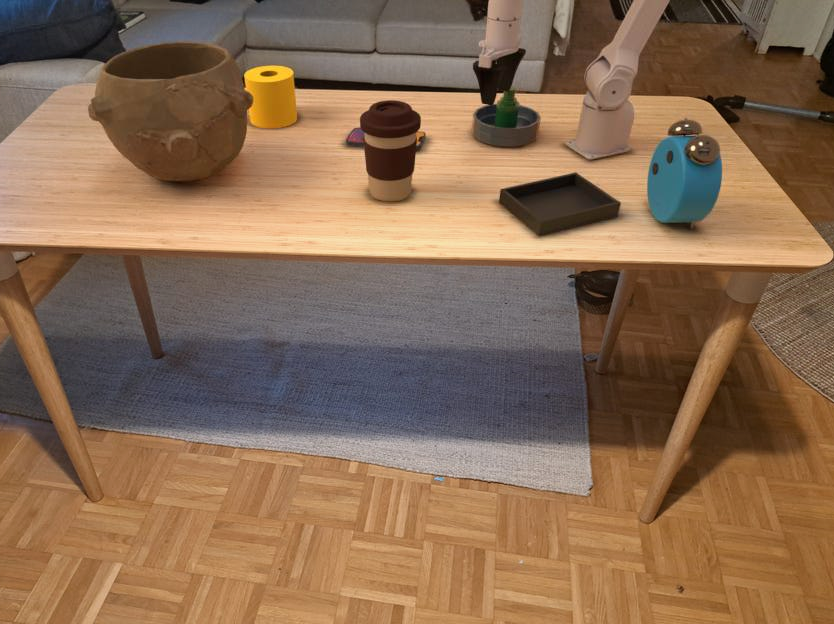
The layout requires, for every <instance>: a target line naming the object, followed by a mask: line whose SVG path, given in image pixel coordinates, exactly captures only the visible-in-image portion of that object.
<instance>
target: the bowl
mask: <svg viewBox="0 0 834 624" xmlns="http://www.w3.org/2000/svg"><path fill="white" fill-rule="evenodd" d="M243 81H244V80H243V78H242V74H241V71H240V68H239V66H238V64H237V61H236V60H235V59H234V56H233V55H232V54H231V53H230V52H229V51H228V49H227V48H226V47H222V46H220V45H216V44H213V43H210V42H209V43H208V42H202V41H192V40H190V41H189V40H187V41H186V40H179V41H177V40H176V41H165V42H158V43H153V44H146V45H142V46H138V47H135V48H132V49H128V50H126V51H123V52H121V53H119V54H117V55H115V56H113V57H112V58H111V59H109V60H107V62H105V64H103V66H102V67H101V68H100V71H99V75H98V77H97V82H96V85H95V91H94V97H92V98H90V103H89V104H88V106H87V111H88V117H89V119H91V120H92V121H95V122H99V124H100V125H101V126H102V129H103V131H104V133H105V134H106V136H107V138H108V139H109V141H110V142H111V144H112V145H113V147H114V148H115V149H116V150H117V151H118V152H119V153H120V154H121V155H122V157H123V158H125V159H126V160H128V161H129V162H130V163H131V164H132V165H133V166H135V167H136V168H137V169H138V170H140V171H142V172H143V173H145V174H147V175H149V176H152V177H153V178H157V179H159V180H162V181H171V182H188V181H195V180H197V181H198V180H202V179H203V180H204V179H206V178H208V177H210V176H213V175H214V174H216V173H219V172H221V171H223V170H224V169H225V168H227V167H228V166H229V165H231V164H232V163H233V162H234V161H235V160H236V158H237V157H238V156H239V155H240V152H241V151H242V149H243V147H244V144H245V141H246V137H247V132H248V122H249V121H248V111H249V108H250V107H252V104H253V96H252V95H251V94H250V93H249V92H247V91H246V88H245V85H244V84H245V83H244V82H243Z"/></svg>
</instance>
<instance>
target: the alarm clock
mask: <svg viewBox="0 0 834 624" xmlns="http://www.w3.org/2000/svg"><path fill="white" fill-rule="evenodd" d="M722 180H723V161H722V156H721V145H720V143H719V141H718V140H717V139H716V138H714V137H713V136H711V135H708V134H703V126H702V125H701V124H700V123H699V122H698V121H697V120H694V119H688V118H687V117H684V118H683V119H679V120H678V121H675V122H674V123H672V124H671V125H670V126H669V128H668V130H667V137H664V138H663V139H662V140H661V141H660V142H659V143H658V145H657V146H656V147H655V150H654V151H653V153H652V156H651V159H650V163H649V166H648V171H647V181H646V182H647V183H646V191H647V192H646V193H647V195H646V196H647V201H648V206H649V210H650V213H651V215H652V216H653V218H654V219H655V220H656V221H657V222H659V223H662V224H671V223H672V224H673V223H689V228H690V229H693V227H694V224H695V223H696V222H697V223H698V222H701V221H703V220H705V219H706V218H707V217H708V216H709V215H710V214H711V212H713V209H714V207H715V205H716V203H717V200H718V198H719V196H720V191H721V187H722Z"/></svg>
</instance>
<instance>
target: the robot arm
mask: <svg viewBox="0 0 834 624" xmlns="http://www.w3.org/2000/svg"><path fill="white" fill-rule="evenodd" d="M670 1H671V0H633V1H632V3H631V5H630V7H629V9H628V11H627V12H626V14H625V17H624V18H623V20H622V22H621V23H620V26H619V28H618V30H617V32H616V33H615V35H614V37H613V39H612V41H610V43H609V44H607V45H606V46H604V47H603V48H602V50H601V51H600V53H599V55H598V56H597V58H596V59H594V60H593V61H592V62H591V63H589V65H588V66H587V68H586V70H585V72H584V76H583V80H584V85H585V87H586V88H587V92H586V94H585V95H584V97H583V100H582V106H581V110H580V111H581V112H580V116H579V120H578V121H579V122H578V126H577V131H576V136H575V137H576V138H575V139H574V140H570V141H566V142H564V144H565V146H567V147H568V148H569V149H570V150H573V151H574V152H576V153H577V154H579V155H581V156H582V157H584V158H585V159H587V160H589V161H592V160H597V159H600V158H606V157H610V156H614V155H619V154H623V153H624V154H625V153H628V152H630V151H631V149H630V148H629V147H628V145H629V143H630V142H629V141H630V137H631V133H632V129H633V126H634V125H633V124H634V120H635V108H634V106H633V103H632V102H631V101H630V99H629V98H630V97H631V94H632V90H633V83H634V80H635V78H636V76H637V74H638V71H639V70H638V69H639V57H640V55H641V53H642V52H643V49H644V48H645V46H646V44H647V42H648V40H649V39H650V37H651V35H652V33H653V32H654V30H655V28H656V27H657V24H658V22H659V21H660V19H661V17H662V15H663V13H664V12H665V10H666V8H667V6H668V4H669V3H670ZM487 4H488V5H487V13H486V15H487V17H486V26H485V28H486V29H485V39H481V40H480V41H478V47H480V48H482V50H481V53H480V54H479V56H478V59H477V60H476V61H474V62H473V63H472V71H473V73H474V75H475V77H476V80H477V84H478V87H479V95H480V102H481V104H482V105H493V104H495V102H496V99H497V94H498V91H500V92H504V91H506V92H509V91H510V88H511V87H513V86H512V85H513V82H514V79H515V77H516V73H517V70H518V68H519V66H520V64H521V62H522V60H523V59H524V57H525V55H526V53H527V49H525V48H522V47H520V46H521V45H522V44H521V43H522V37H523V36H522V33H520V30H521V21H522V13H523V6H524V5H523V4H524V0H488V3H487Z"/></svg>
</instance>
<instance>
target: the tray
mask: <svg viewBox="0 0 834 624" xmlns="http://www.w3.org/2000/svg"><path fill="white" fill-rule="evenodd" d="M498 204H500V205H501V206H502V207H503V208H504V209H506V210H507V211H508V212H510V214H512V215H513V216H514V217H516V219H518V220H519V221H520V222H521V223H522V224H524V225H525V226H526V228H528V229H530V231H532V232H533V233H535V234H536V236H538V237H541V236H545V235H550V234H554V233H557V232H561V231H565V230H569V229H573V228H577V227H580V226H584V225H588V224H589V225H590V224H592V223H597V222H601V221H605V220H610V219H613V218H616V217H617V218H618V216H619V213H620V212H619V211H620V209H621V205H622V202H621V201H619V200H618V199H617V198H614V196H611V194H609V193H607V191H604V189H601V188H600V187H598V186H597V185H596V184H594V183H593V182H591V181H589V179H587V178H585V177H584V176H582V175H581V174H580V173H578V172H576V171H575V172H571V173H566V174H562V175H558V176H553V177H548V178H545V179H539V180H535V181H531V182H530V181H529V182H527V183H522V184H516V185H512V186H508V187H504V188H500V190H499V200H498Z"/></svg>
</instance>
